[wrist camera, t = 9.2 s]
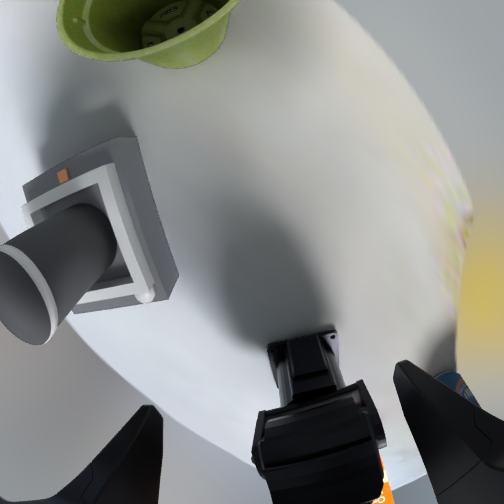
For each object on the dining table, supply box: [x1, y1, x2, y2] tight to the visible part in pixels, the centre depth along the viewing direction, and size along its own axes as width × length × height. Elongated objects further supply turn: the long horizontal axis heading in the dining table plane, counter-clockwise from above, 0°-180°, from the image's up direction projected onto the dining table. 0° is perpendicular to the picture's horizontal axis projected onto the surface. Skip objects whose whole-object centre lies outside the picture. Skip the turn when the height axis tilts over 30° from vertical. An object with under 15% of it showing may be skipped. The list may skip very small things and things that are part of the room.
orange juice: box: [372, 457, 394, 504], centre depth 27 cm, size 8×9×20 cm
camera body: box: [21, 137, 179, 314], centre depth 17 cm, size 11×9×5 cm
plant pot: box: [56, 0, 241, 69], centre depth 10 cm, size 9×9×9 cm
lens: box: [0, 203, 117, 345], centre depth 12 cm, size 5×5×8 cm
